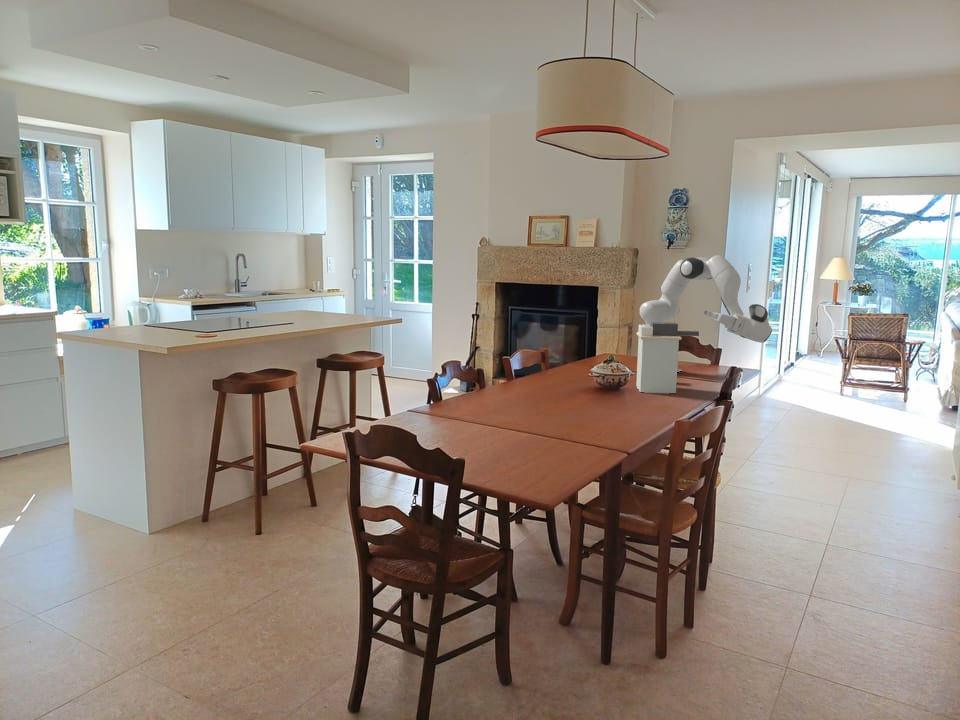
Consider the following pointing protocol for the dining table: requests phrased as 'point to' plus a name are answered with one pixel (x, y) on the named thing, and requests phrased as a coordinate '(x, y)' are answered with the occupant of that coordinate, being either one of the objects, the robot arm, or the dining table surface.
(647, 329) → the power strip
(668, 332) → the dark grey stepped bar
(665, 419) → the dining table surface
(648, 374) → the cabinet
